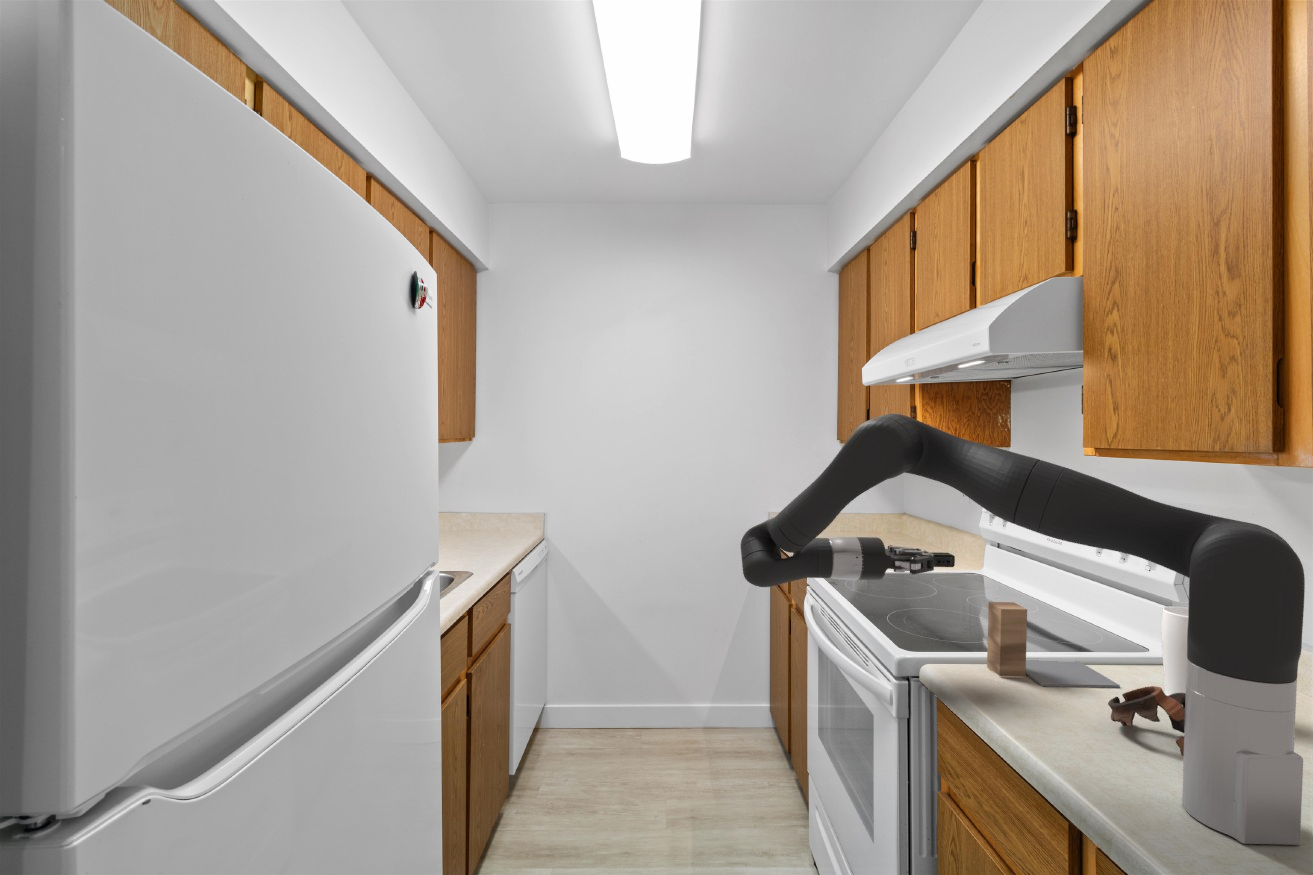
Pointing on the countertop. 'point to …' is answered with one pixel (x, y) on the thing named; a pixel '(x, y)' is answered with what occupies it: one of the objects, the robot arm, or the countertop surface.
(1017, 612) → the plain brown block
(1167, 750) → the countertop surface
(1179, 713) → the brown jagged ring
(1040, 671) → the mat
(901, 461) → the robot arm
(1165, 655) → the drinking glass
